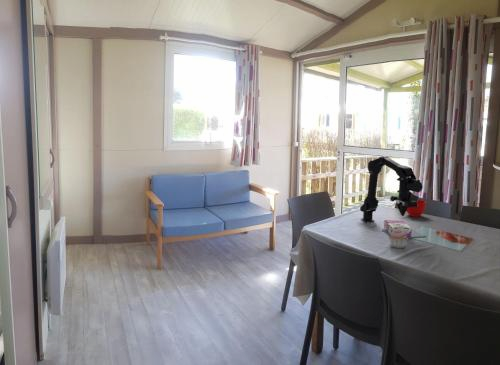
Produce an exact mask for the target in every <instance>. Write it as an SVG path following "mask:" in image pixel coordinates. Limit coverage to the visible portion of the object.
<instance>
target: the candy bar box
mask: <svg viewBox="0 0 500 365" xmlns="http://www.w3.org/2000/svg"><path fill="white" fill-rule="evenodd" d="M397 228H400V229H401V231H403V232H404V233H405V234H406V235H407V236H411V230H413V229H412V227H411V226H409V224H407V223H406V222H405V221H404V220H393V219H392V220H390V219H389V220H388V219H384V220H383V229H384V230H387V232H388V233H389V234H390V235H389V234H388V235H389V236H391V233H392V232H393V231H394V230H395V229H397Z"/></svg>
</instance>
